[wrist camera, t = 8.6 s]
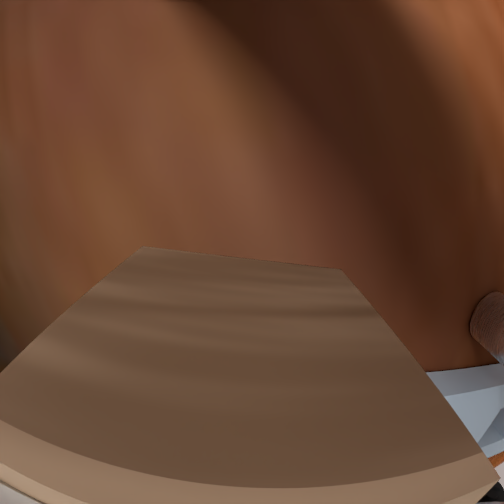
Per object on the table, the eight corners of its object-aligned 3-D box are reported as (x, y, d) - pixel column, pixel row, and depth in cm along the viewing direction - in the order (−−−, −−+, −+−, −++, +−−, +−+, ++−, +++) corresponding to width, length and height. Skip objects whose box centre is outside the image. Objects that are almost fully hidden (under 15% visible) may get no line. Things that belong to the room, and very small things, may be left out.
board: (264, 372, 15) (275, 515, 7) (544, 354, 17) (596, 402, 9) (243, 471, 18) (243, 570, 10) (496, 434, 19) (532, 486, 11)
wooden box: (142, 246, 10) (-50, 428, 2) (340, 269, 11) (500, 478, 2) (147, 397, 12) (86, 573, 4) (302, 414, 13) (336, 595, 4)
